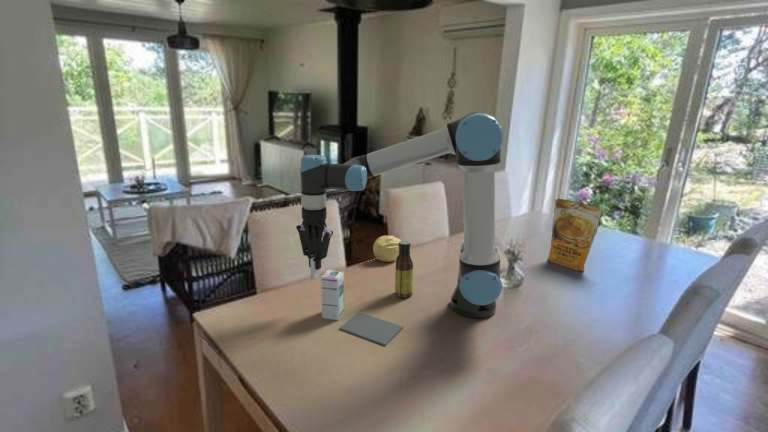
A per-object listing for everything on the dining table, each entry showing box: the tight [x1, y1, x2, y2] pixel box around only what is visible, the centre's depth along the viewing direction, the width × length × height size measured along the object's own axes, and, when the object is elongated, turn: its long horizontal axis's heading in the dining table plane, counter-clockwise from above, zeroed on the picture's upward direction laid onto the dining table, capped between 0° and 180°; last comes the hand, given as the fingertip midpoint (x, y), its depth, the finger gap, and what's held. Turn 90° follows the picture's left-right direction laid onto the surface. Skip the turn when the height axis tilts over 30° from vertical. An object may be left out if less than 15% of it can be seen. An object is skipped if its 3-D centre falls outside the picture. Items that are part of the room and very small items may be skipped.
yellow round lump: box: [372, 235, 402, 263], centre depth 174 cm, size 12×12×11 cm
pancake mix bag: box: [547, 198, 603, 272], centre depth 173 cm, size 7×19×28 cm, turn 40°
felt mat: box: [338, 311, 404, 347], centre depth 123 cm, size 16×11×1 cm
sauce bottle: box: [394, 240, 414, 299], centre depth 142 cm, size 6×6×20 cm
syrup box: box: [320, 269, 345, 321], centre depth 128 cm, size 6×6×14 cm
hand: (315, 277), depth 130 cm, fingers closed
